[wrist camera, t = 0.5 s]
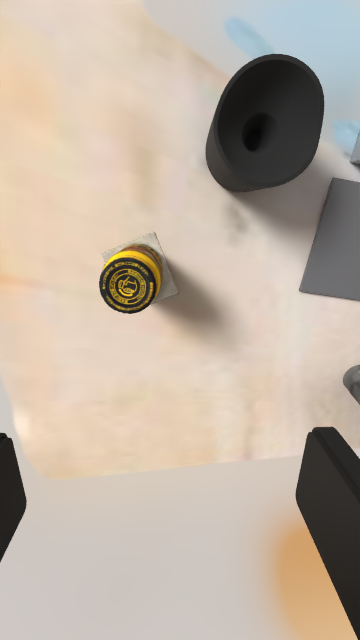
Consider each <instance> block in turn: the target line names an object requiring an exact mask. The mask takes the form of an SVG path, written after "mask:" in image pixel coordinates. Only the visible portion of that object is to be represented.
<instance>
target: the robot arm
mask: <svg viewBox="0 0 360 640" xmlns="http://www.w3.org/2000/svg"><path fill="white" fill-rule="evenodd" d="M296 501H297V504H298V507H299V509H300V511H301V513H302V516H303V518H304V520H305V523H306V525H307V527H308V529H309V532H310V534H311V536H312V538H313V540H314V543H315V545H316V547H317V549H318V552H319V554H320V556H321V558H322V561H323V563H324V565H325V567H326V569H327V572H328V574H329V576H330V578H331V581H332V583H333V585H334V587H335V589H336V592H337V594H338V596H339V598H340V600H341V603H342V605H343V607H344V610H345V612H346V614H347V616H348V618H349V621H350V623H351V625H352V627H353V629H354V632H355V634H356V636H357V638H358V640H360V459H359V458H358V456H357V455H356V454H355V453H354V451H353V450H352V449H351V447H350V446H349V445H348V444H347V442H346V441H345V440H344V439H343V437H342V436H341V435H340V433H339V432H338V431H337V430H336V429H335V428H333V427H315V428H313V430H312V432H309V433H308V435H307V439H306V444H305V449H304V454H303V459H302V464H301V469H300V474H299V479H298V483H297V488H296ZM25 509H26V496H25V492H24V487H23V483H22V479H21V475H20V471H19V466H18V462H17V458H16V454H15V450H14V445H13V441H12V439H11V438H8V437H7V435H6V434H5V433H0V562H1V560H2V557H3V555H4V553H5V551H6V549H7V547H8V545H9V543H10V541H11V539H12V537H13V535H14V533H15V531H16V529H17V527H18V525H19V522H20V520H21V519H22V516H23V514H24V512H25Z"/></svg>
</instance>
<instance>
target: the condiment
mask: <svg viewBox="0 0 360 640" xmlns="http://www.w3.org/2000/svg"><path fill="white" fill-rule="evenodd" d="M102 257H103V259H104V261H105V263H106V264H105V265H104V268H103V271H102V273H101V275H100V281H99V287H100V293H101V295H102V297H103V299H104V301H105V302H106V303H107V304H108V306H109V307H111V308H112V309H114V310H116V311H118V312H122V313H128V314H132V313H137V312H140V311H142V310H144V309H145V308H146V307H148V306H149V305H150V304H152V303H154V302H157V301H159V300H162V299H165V298H167V297H170V296H173V295H175V294H178V293H179V292H178V290H177V287H176V285H175V282H174V280H173V277H172V275H171V272H170V270H169V267H168V265H167V262H166V260H165V257H164V255H163V252H162V250H161V247H160V245H159V243H158V240H157V238H156V235H155V233H154V232H153V233H150V234H148V235H145V236H143V237H140V238H138V239H136V240H133V241H131V242H128V243H126V244H123V245H121V246H119V247H116V248H114V249H111V250H109V251H107V252H104V253H102Z"/></svg>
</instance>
